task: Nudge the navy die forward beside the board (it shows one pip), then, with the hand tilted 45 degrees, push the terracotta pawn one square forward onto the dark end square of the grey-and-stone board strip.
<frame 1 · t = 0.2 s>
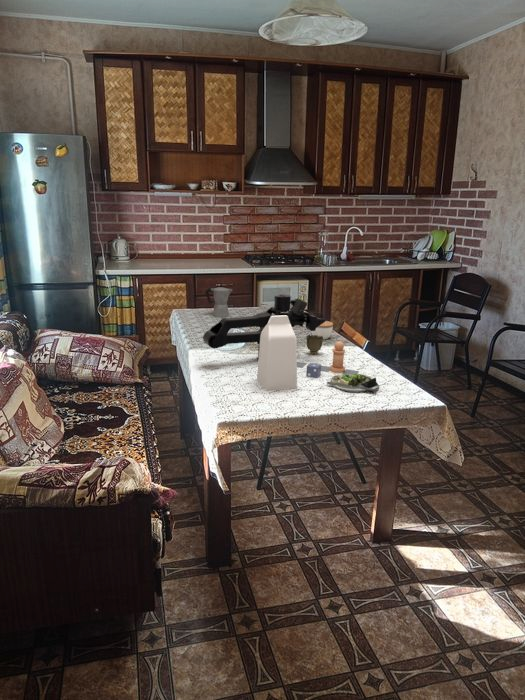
hand: (319, 317, 234), 17 cm above the table, tool horizontal, fingers open, 9 cm apart
cup: (313, 354, 239), on the table
salad plate: (356, 386, 202), on the table
die: (313, 376, 210), on the table
pawn: (337, 370, 217), resting on board
milk: (276, 384, 201), on the table
board: (324, 369, 219), on the table
coffeepot: (218, 315, 304), on the table
lidded jar: (321, 338, 265), on the table
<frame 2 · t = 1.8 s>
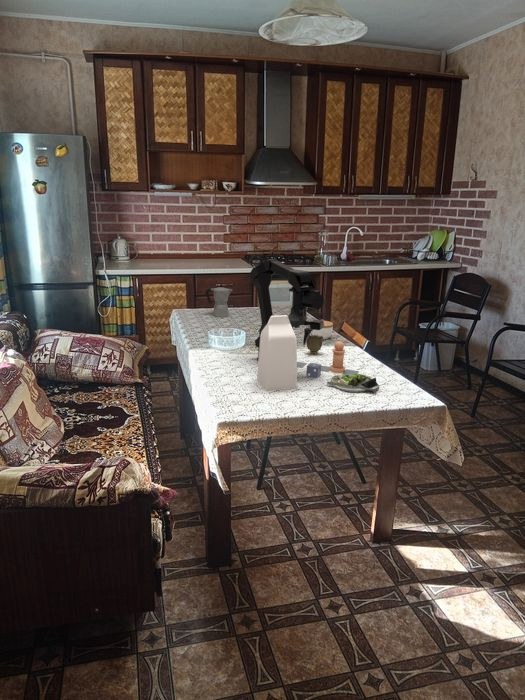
hand: (297, 343, 209), 12 cm above the table, tool pointing down, fingers open, 5 cm apart
nothing on the table moved.
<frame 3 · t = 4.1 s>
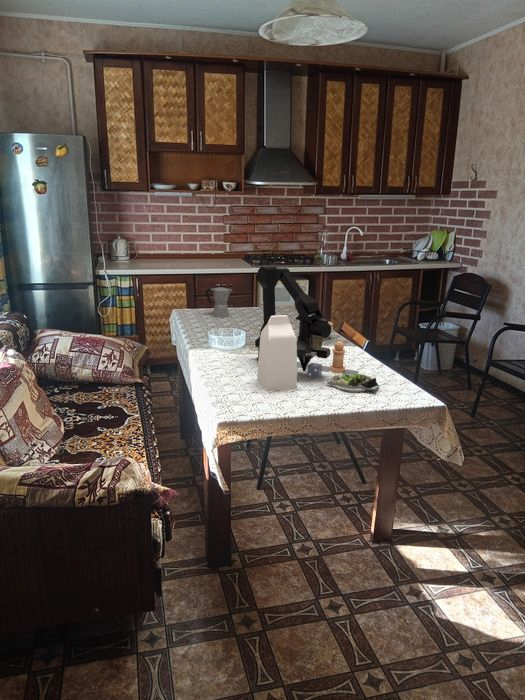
hand: (304, 371, 211), 1 cm above the table, tool pointing down, fingers closed
die: (314, 376, 210), on the table, touching gripper
everything else where it was.
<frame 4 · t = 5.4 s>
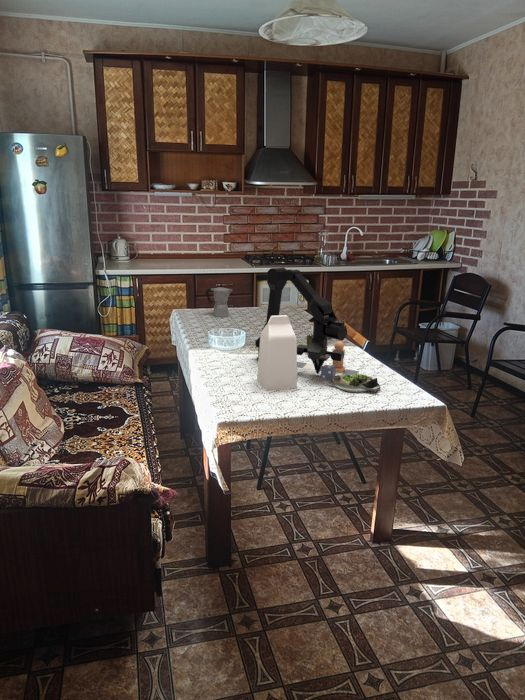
hand: (317, 373, 209), 1 cm above the table, tool pointing down, fingers closed
die: (328, 378, 208), on the table, touching gripper
everything else where it was.
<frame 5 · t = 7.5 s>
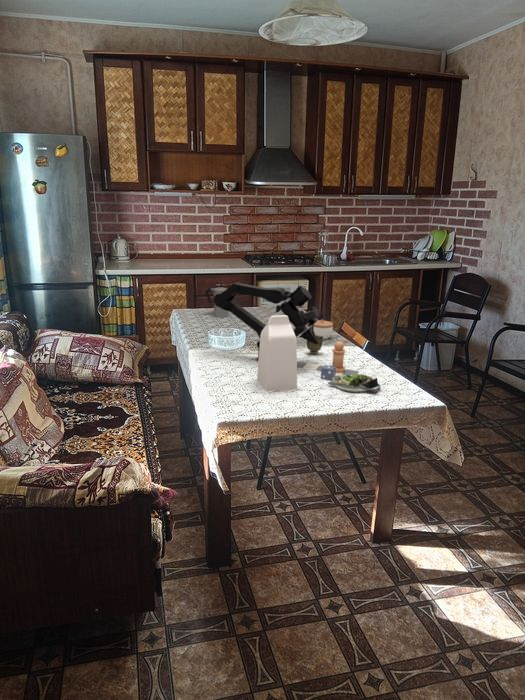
hand: (317, 343, 217), 10 cm above the table, tool tilted 45°, fingers closed
die: (328, 378, 208), on the table
everything else where it was.
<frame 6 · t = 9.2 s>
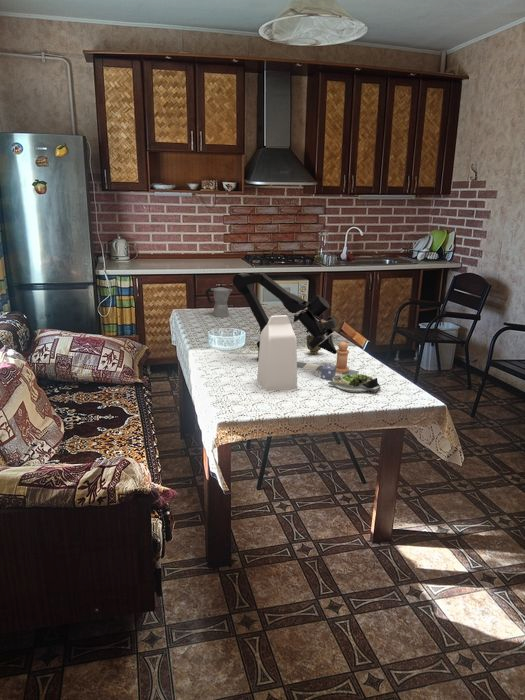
hand: (336, 353, 215), 7 cm above the table, tool tilted 45°, fingers closed
pawn: (341, 371, 216), resting on board
everything else where it was.
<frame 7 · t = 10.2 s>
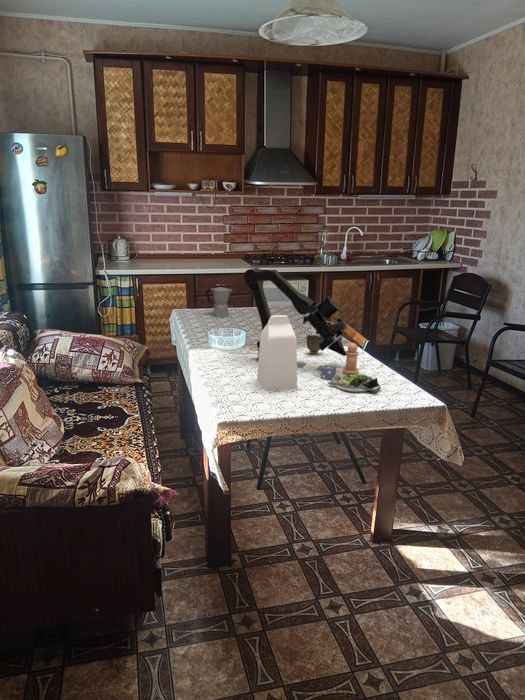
hand: (345, 355, 214), 7 cm above the table, tool tilted 45°, fingers closed
pawn: (350, 372, 215), resting on board
everything else where it was.
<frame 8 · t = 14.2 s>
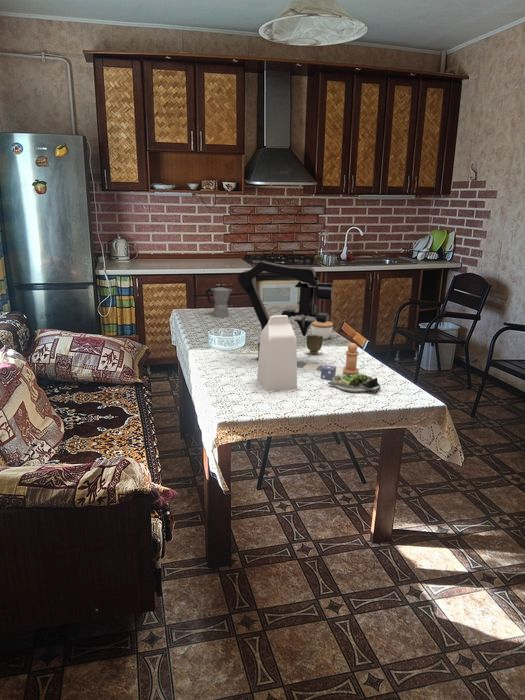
hand: (304, 335, 221), 12 cm above the table, tool pointing down, fingers closed
nothing on the table moved.
at the end: pawn 0.1 cm from the target spot, resting on board; pawn tilted 0°; die moved 5.9 cm from its start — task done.
